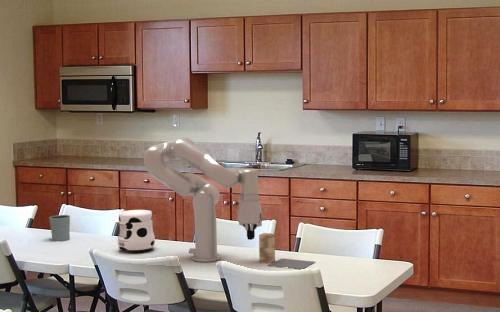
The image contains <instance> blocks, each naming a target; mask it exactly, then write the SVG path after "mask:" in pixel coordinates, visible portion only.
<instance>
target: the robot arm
mask: <svg viewBox="0 0 500 312" xmlns="http://www.w3.org/2000/svg"><path fill="white" fill-rule="evenodd" d="M178 159H179V160H180V161H183V162H184V163H187V164H189V165H190V166H192V167H194V168H195V169H197V170H198V171H200V172H201V173H203V175H205V176H206V177H207V178H209V179H210V180H212V181H213V182H215V183H217V184H218V185H220V186H222V187H225V188H229V189H230V188H231V189H232V188H234V187H235V186H237V185H240V193H239V194H238V198H240V200H239V201H238V206H237V207H238V209H237V222H238V225H239V226H242V227H243V228H244V229H245V231H246V238H247V240H248V241H249V240H250V241H252V240H254V239H255V233H256V232H255V230H256V229H257V228H260V227H262V226H263V223H262V222H263V212H262V211H263V210H262V205H261V201H260V199H259V176H258V175H259V174H258V170H257V169H256V168H244V169H243V168H237V167H232V168H227V167H224V166H223V165H221V164H219V163H218V162H217V161H215V159H214V158H213V156H212V155H211V154H210V153H209V152H208V151H206V150H204V149H203V148H201V147H200V146H197V145H195V143H194V141H193V140H192V139H190V138H188V137H180V138H177V139H174V140H171V141H170V140H169V141H167V142H162V143H161V142H160V143H157V144H154V145H151V146H149V147H148V148H147V149H146V150H145V151H144V155H143V163H144V167H145V170H146V171H147V173H148V174H149V175H150V176H151V177H152V178H154V179H155V180H157V181H159V182H160V183H162V184H163V185H164V186H166V187H167V188H168V189H170V190H172V191H174V192H175V193H176V194H178V195H180V196H182V197H188V196H190V197H192V208H193V215H194V216H193V217H194V218H193V219H194V242H195V243H194V245H195V246H194V247H190V248H189V250H188V254H193V256H191V258H192V259H191V260H192V261H195V262H199V263H201V262H202V263H209V262H210V263H211V262H216V261H219V260H220V259H221V258H222V255H220V254H219V253H218V238H217V236H218V235H217V234H218V233H217V232H218V231H217V214H216V212H217V211H216V205H217V203H219V202H220V198H221V194H220V191H219V190H218V188H217V187H216V186H215V185H213V184H212V183H210V182H209V181H207V180H205V179H203V178H202V177H200V176H199V175H197V174H196V173H194V172H185V173H183V172H181V171H180V170H178V169H176V168H175V167H173V166H172V165H170V164H168V163H166V162H169V161H174V160H178Z"/></svg>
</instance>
